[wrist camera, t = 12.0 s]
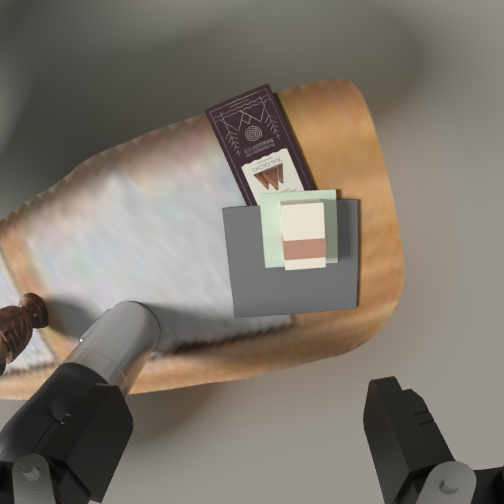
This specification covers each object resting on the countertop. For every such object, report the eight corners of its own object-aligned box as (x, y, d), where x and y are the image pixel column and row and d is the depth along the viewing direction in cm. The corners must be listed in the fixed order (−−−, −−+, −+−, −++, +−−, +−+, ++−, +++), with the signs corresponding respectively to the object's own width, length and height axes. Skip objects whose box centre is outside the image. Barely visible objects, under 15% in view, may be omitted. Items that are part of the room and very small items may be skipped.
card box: (279, 201, 40) (280, 205, 36) (318, 198, 39) (323, 202, 35) (283, 260, 42) (285, 270, 38) (320, 257, 42) (326, 267, 38)
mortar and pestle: (45, 278, 46) (-30, 329, 27) (68, 320, 48) (3, 382, 29) (15, 297, 48) (-50, 343, 29) (36, 334, 50) (-22, 388, 31)
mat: (235, 315, 46) (234, 318, 45) (221, 196, 41) (220, 197, 40) (355, 306, 44) (356, 309, 44) (355, 187, 40) (357, 188, 39)
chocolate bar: (268, 83, 36) (321, 208, 40) (268, 85, 37) (320, 207, 41) (204, 110, 37) (259, 233, 42) (205, 111, 38) (259, 231, 42)
